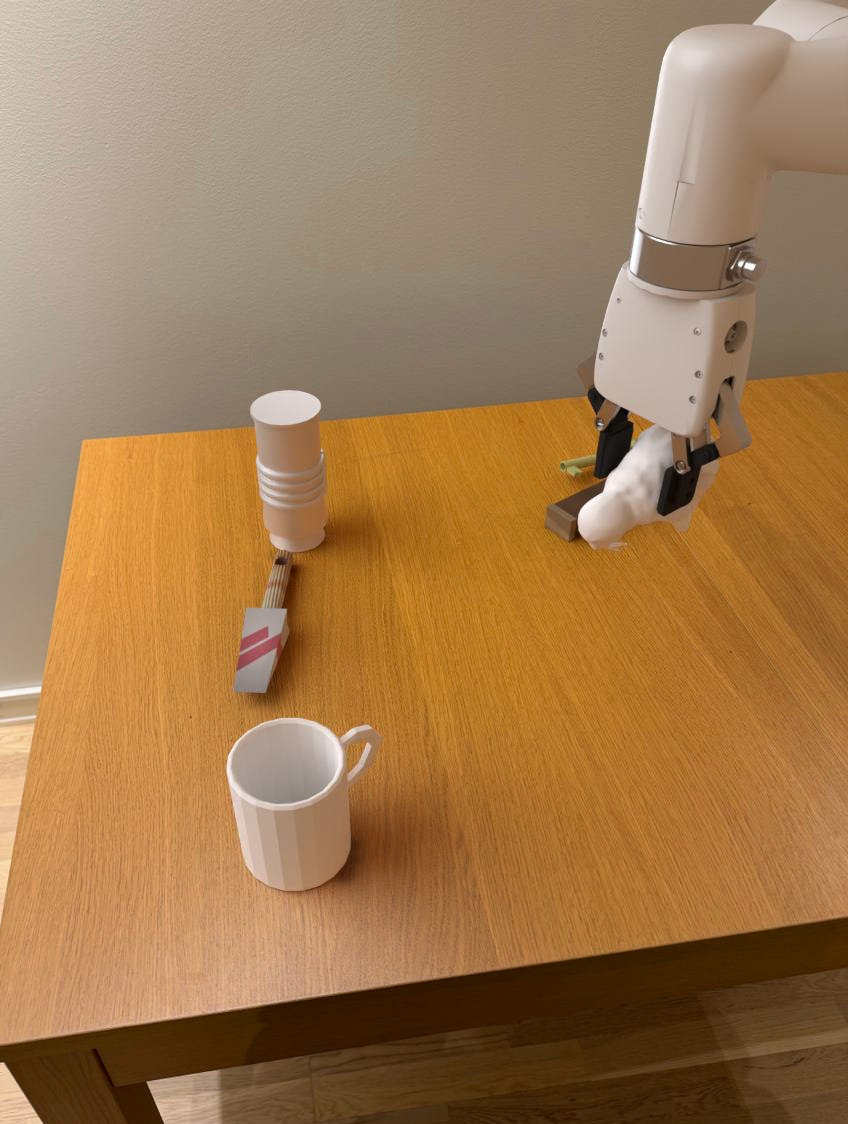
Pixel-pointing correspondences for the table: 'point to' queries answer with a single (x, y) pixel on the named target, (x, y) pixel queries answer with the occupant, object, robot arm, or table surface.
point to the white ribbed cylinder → (291, 469)
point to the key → (581, 463)
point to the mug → (295, 799)
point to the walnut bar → (570, 512)
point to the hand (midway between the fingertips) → (640, 488)
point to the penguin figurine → (638, 492)
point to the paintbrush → (264, 631)
